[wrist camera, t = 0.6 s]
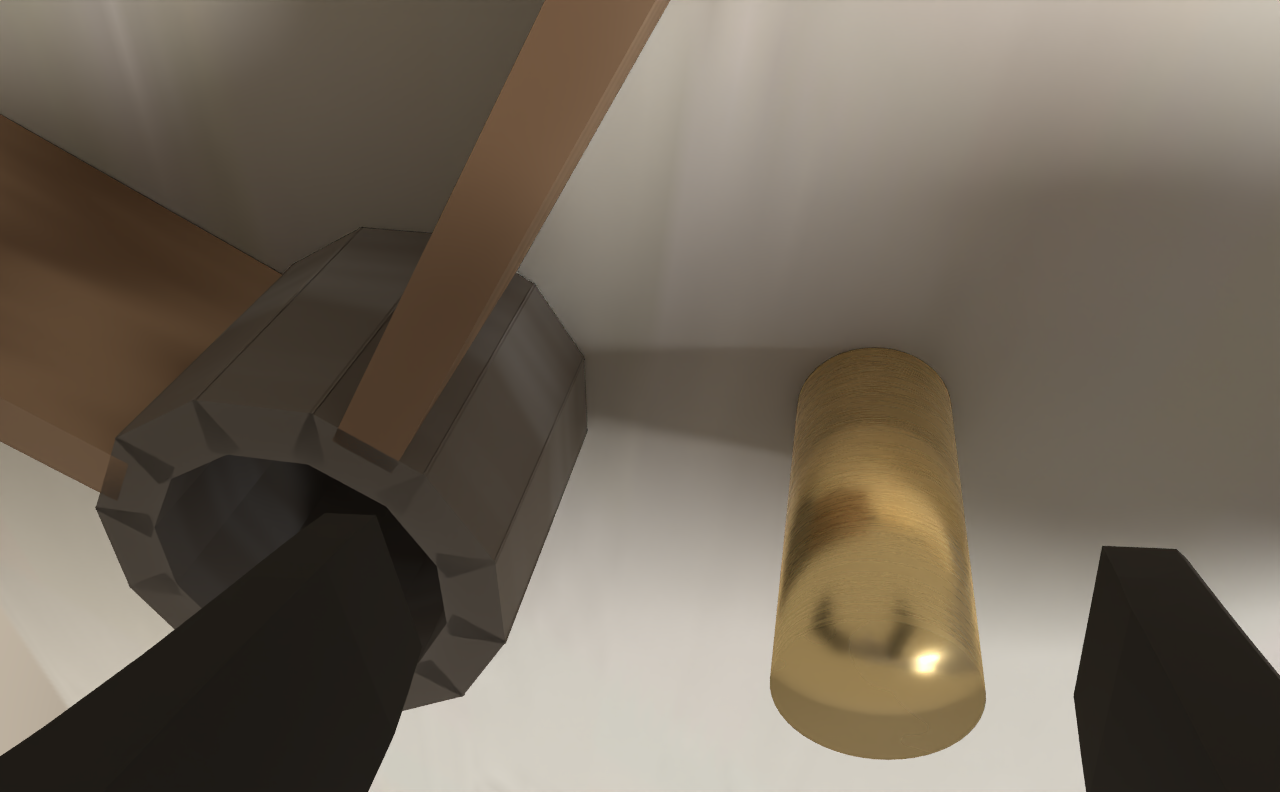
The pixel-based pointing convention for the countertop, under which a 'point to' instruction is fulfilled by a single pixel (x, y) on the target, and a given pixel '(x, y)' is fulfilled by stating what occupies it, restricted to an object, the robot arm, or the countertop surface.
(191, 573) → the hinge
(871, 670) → the pin
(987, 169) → the countertop surface
